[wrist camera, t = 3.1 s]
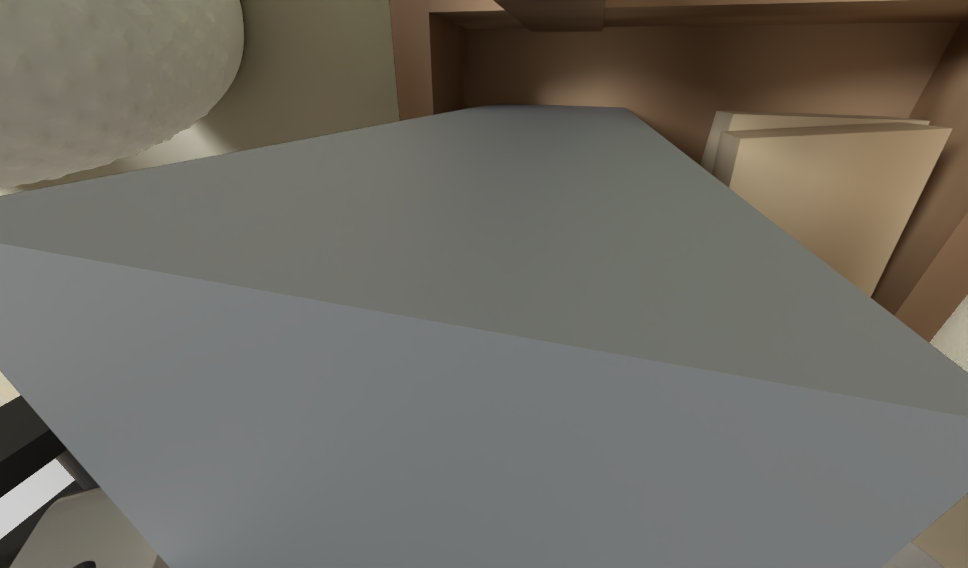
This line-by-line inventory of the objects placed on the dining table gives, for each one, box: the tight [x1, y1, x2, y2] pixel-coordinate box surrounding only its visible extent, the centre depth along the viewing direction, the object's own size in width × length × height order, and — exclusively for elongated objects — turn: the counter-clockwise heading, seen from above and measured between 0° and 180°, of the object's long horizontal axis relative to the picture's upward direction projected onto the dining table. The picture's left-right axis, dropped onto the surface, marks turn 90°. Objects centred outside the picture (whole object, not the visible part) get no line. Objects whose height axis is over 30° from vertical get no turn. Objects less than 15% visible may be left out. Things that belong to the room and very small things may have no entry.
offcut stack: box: [700, 110, 953, 297], centre depth 11 cm, size 4×10×3 cm, turn 179°
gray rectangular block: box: [0, 103, 968, 568], centre depth 9 cm, size 4×10×12 cm, turn 179°
